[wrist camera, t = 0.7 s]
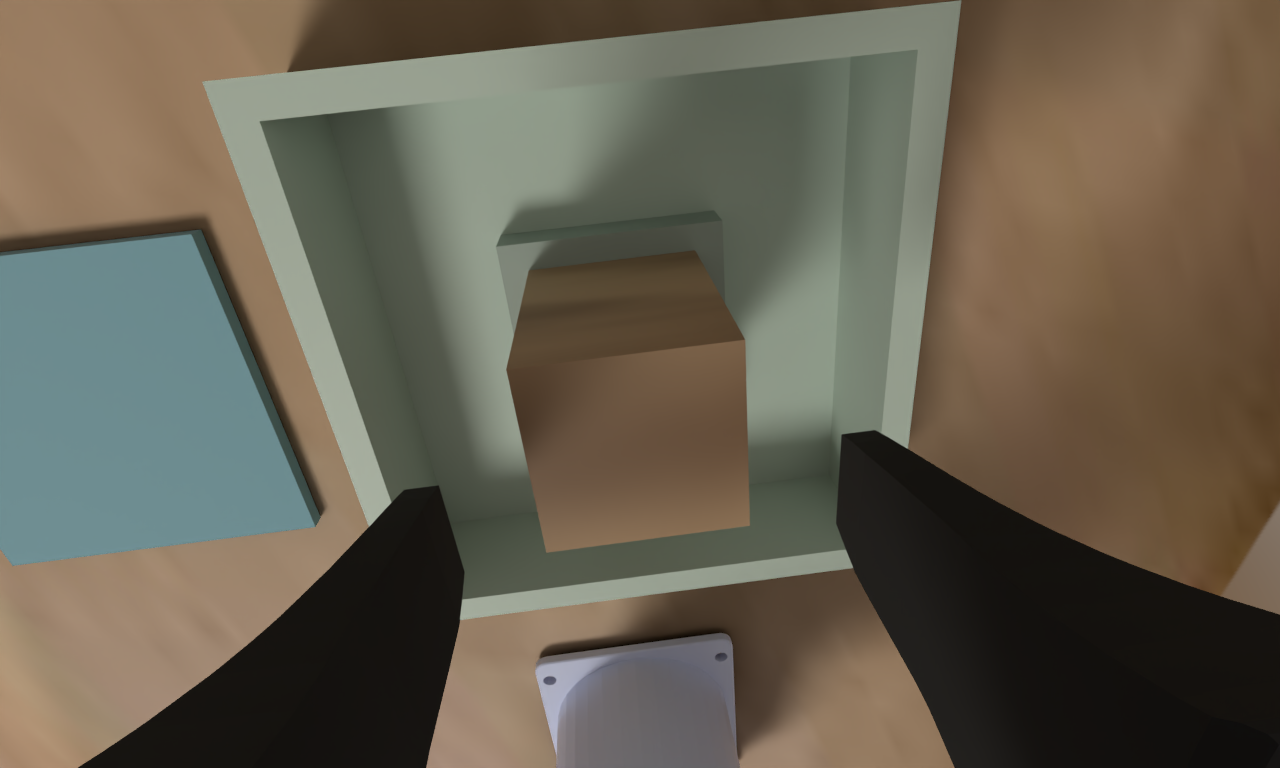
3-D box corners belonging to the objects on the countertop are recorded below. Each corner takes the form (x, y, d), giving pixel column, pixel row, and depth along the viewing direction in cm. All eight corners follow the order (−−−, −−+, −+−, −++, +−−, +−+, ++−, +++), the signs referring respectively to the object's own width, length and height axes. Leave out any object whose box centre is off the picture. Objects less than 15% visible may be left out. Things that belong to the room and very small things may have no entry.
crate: (841, 476, 24) (894, 562, 20) (435, 528, 24) (406, 626, 20) (871, 10, 17) (961, 0, 13) (293, 72, 16) (202, 81, 13)
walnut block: (703, 395, 20) (750, 525, 14) (555, 414, 19) (546, 552, 14) (695, 250, 17) (744, 339, 12) (528, 270, 17) (506, 369, 12)
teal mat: (320, 517, 22) (315, 526, 22) (23, 555, 22) (12, 565, 22) (201, 229, 18) (191, 234, 17) (-178, 272, 17) (-198, 278, 17)
